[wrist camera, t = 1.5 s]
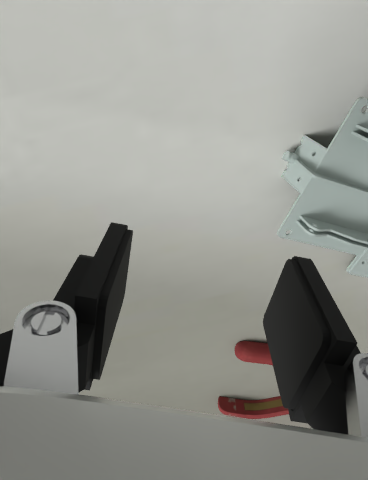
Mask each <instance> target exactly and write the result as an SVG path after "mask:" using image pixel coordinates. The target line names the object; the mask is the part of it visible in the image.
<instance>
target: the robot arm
mask: <svg viewBox="0 0 368 480" xmlns="http://www.w3.org/2000/svg"><path fill="white" fill-rule="evenodd" d="M127 228H128V226H127V225H123V224H117V223H111V224H110V226H109V228H108V230H107V232H106V234H105V236H104V238H103V240H102V242H101V244H100V246H99V248H98V250H97V252H96V254H95V256H94V257H92V256H86V255H79V257H78V258H77V260H76V262H75V263H74V265H73V267H72V269H71V270H70V272H69V274H68V276H67V277H66V279H65V281H64V282H63V284H62V286H61V288H60V289H59V291H58V293H57V295H56V296H55V298H54V300H53V301H50V300H47V301H39V302H36V303H33V304H30V305H29V306H27V307H25V308H24V309H22V310H21V312H20V313H19V314H18V315H17V317H16V320H15V324H14V329H13V330H10V331H7V332H5V333H2V334H0V480H368V353H360V351H359V349H358V347H357V342H356V340H355V338H354V336H353V334H352V332H351V331H350V329H349V327H348V325H347V323H346V321H345V320H344V318H343V316H342V314H341V312H340V311H339V309H338V307H337V305H336V303H335V301H334V300H333V298H332V296H331V294H330V292H329V291H328V289H327V287H326V285H325V283H324V281H323V280H322V278H321V276H320V274H319V272H318V270H317V269H316V267H315V265H314V263H313V261H312V260H311V259H307V258H302V257H297V256H294V257H293V258H292V260H291V259H288V260H287V261H286V263H285V265H284V268H283V270H282V273H281V275H280V278H279V280H278V283H277V285H276V288H275V290H274V293H273V295H272V298H271V300H270V303H269V305H268V307H267V310H266V312H265V315H264V319H263V326H264V330H265V334H266V338H267V342H268V347H269V351H270V355H271V359H272V363H273V367H274V371H275V376H276V380H277V384H278V388H279V392H280V396H281V400H282V404H283V407H284V408H286V409H288V411H289V415H290V419H291V421H295V422H302V423H308V424H309V425H310V426H311V428H310V429H309V428H302V427H296V426H289V425H283V424H276V423H270V422H263V421H256V420H250V419H243V418H237V417H230V416H223V415H217V414H210V413H203V412H197V411H190V410H183V409H176V408H169V407H162V406H156V405H149V404H142V403H135V402H128V401H121V400H114V399H107V398H101V397H93V396H85V395H78V393H79V392H80V391H82V390H84V389H85V390H90V387H91V384H92V381H93V379H100V377H101V374H102V371H103V367H104V364H105V360H106V357H107V354H108V350H109V347H110V344H111V340H112V337H113V333H114V330H115V327H116V323H117V320H118V317H119V313H120V310H121V306H122V303H123V299H124V294H125V288H126V280H127V272H128V265H129V257H130V250H131V242H132V235H133V230H127Z"/></svg>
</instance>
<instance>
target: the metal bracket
mask: <svg viewBox="0 0 368 480" xmlns="http://www.w3.org/2000/svg"><path fill="white" fill-rule="evenodd" d="M366 105H367V110H366V111H365V112H364V113H362V108H363V107H364V106H366ZM300 142H301V145H300V146H298V147H297V149H296V150H295V152H294V153H293V152H289V151H286V152H285V153H284V154H283V158H282V159H283V160H284V161H288V162H289V163H288V165H287V167H288V168H287V170H284V172H283V174H282V176H281V177H283V178H284V179H285V180H286V181H287V182H288V183H289V184H290V185H291V186H293V187H294V188H295V189H296V190H297V191H298V192H299V193H300V195H299V196H298V198H297V200H296V201H295V203H294V205H293V206H292V208H291V210H290V211H289V213H288V215H287V216H286V218H285V220H284V221H283V223H282V225H281V226H280V228H279V230H278V231H277V235H278V236H279V237H281V238H285V239H290V240H294V241H298V242H303V243H307V244H311V245H315V246H320V247H324V248H328V249H333V250H337V251H341V252H346V253H350V254H354V255H356V257H355V258H354V260H353V261H352V262H351V264H350V265H349V266H348V268H347V269H346V271H347V272H348V273H350V274H351V275H356V276H361V277H366V278H367V277H368V99H366V98H364V97H360V98H358V99H357V100H356V101H355V103H354V105H353V106H352V108H351V110H350V111H349V113H348V115H347V116H346V118H345V120H344V121H343V123H342V125H341V126H340V128H339V130H338V131H337V133H336V135H335V136H334V138H333V140H332V141H331V143H330V145H329V146H328V148H325V147H324V146H322V145H321V144H319V143H317V142H316V141H314V140H312V139H311V138H309V137H308V136H306V135H304V136H303V138H302V140H301V141H300ZM315 152H316V154H315V155H314V153H315ZM300 178H301V179H300ZM299 179H300V181H299ZM288 230H291V232H290V233H289V234H286V232H287V231H288Z"/></svg>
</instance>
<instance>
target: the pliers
mask: <svg viewBox="0 0 368 480" xmlns="http://www.w3.org/2000/svg"><path fill="white" fill-rule="evenodd" d="M235 355H236V356H237V358H239V359H240V360H242V361H245V362H252V363H261V364H269V365H273V363H272V359H271V355H270V351H269V347H268V343H260V342H251V341H240V342H238V343H237V344H236V346H235ZM218 407H219V410H220V411H221V412H222V413H223V414H225V415H230V416H235V417H241V418H247V419H261V418H270V417H275V416H281V415H286V414H289V411H288V409H286V408H284V407H283V404H282V400H281V396H279V397H273V398H268V399H263V400H241V399H235V398H228V397H221V396H220V397H219V399H218Z"/></svg>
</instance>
